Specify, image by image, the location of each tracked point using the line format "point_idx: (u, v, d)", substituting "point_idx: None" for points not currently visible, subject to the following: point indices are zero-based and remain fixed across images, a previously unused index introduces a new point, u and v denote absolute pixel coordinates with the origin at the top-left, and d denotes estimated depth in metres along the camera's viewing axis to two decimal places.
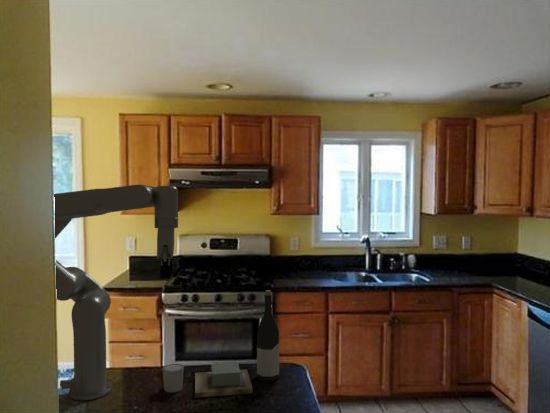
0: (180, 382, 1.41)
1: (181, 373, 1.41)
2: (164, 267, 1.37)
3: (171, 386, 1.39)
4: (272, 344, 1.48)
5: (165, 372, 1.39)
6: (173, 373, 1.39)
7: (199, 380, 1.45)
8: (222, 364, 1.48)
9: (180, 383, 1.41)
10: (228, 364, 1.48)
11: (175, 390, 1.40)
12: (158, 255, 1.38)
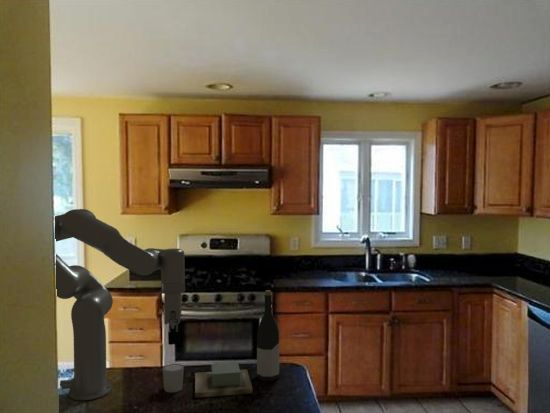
0: (180, 382, 1.41)
1: (181, 373, 1.41)
2: (172, 333, 1.36)
3: (171, 386, 1.39)
4: (272, 344, 1.48)
5: (165, 372, 1.39)
6: (173, 373, 1.39)
7: (199, 380, 1.45)
8: (222, 364, 1.48)
9: (180, 383, 1.41)
10: (228, 364, 1.48)
11: (175, 390, 1.40)
12: (166, 321, 1.37)
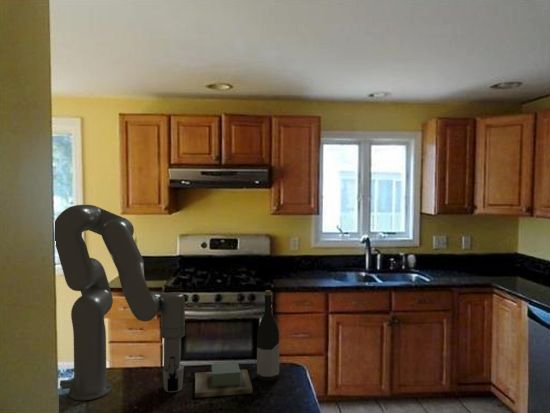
0: (180, 382, 1.41)
1: (181, 373, 1.41)
2: (171, 380, 1.38)
3: None
4: (272, 344, 1.48)
5: (165, 372, 1.39)
6: None
7: (199, 380, 1.45)
8: (222, 364, 1.48)
9: (180, 383, 1.41)
10: (228, 364, 1.48)
11: None
12: (165, 367, 1.37)
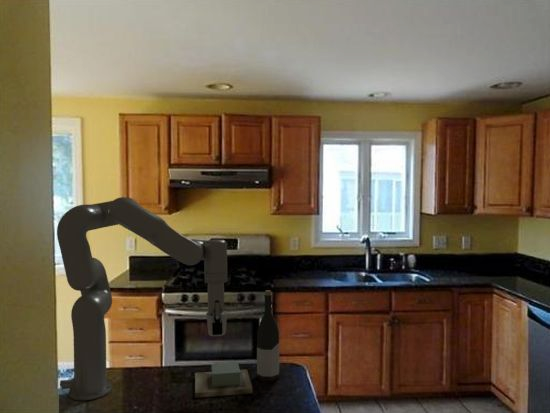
0: (224, 327, 1.43)
1: (225, 318, 1.43)
2: (216, 324, 1.40)
3: None
4: (272, 344, 1.48)
5: (209, 316, 1.42)
6: None
7: (199, 380, 1.45)
8: (222, 364, 1.48)
9: (224, 328, 1.43)
10: (228, 364, 1.48)
11: None
12: (210, 311, 1.39)
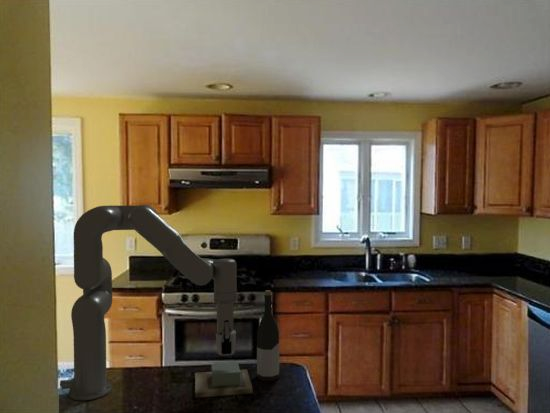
0: (233, 346, 1.44)
1: (234, 337, 1.44)
2: (225, 344, 1.41)
3: None
4: (272, 344, 1.48)
5: (219, 336, 1.42)
6: None
7: (199, 380, 1.45)
8: (222, 364, 1.48)
9: (233, 347, 1.44)
10: (228, 364, 1.48)
11: None
12: (219, 330, 1.40)
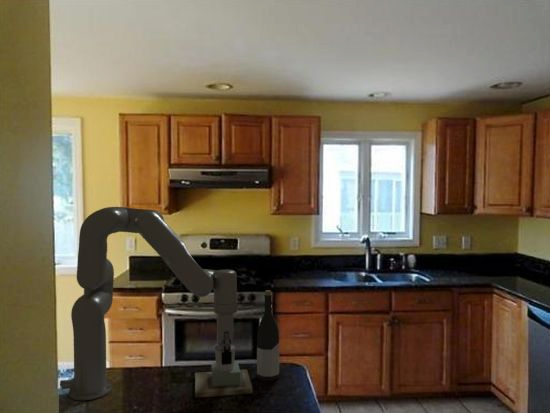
0: (232, 361, 1.43)
1: (233, 353, 1.44)
2: (225, 354, 1.39)
3: (224, 365, 1.42)
4: (272, 344, 1.48)
5: (218, 351, 1.42)
6: None
7: (199, 380, 1.45)
8: None
9: (232, 362, 1.44)
10: None
11: (227, 369, 1.42)
12: (219, 342, 1.40)
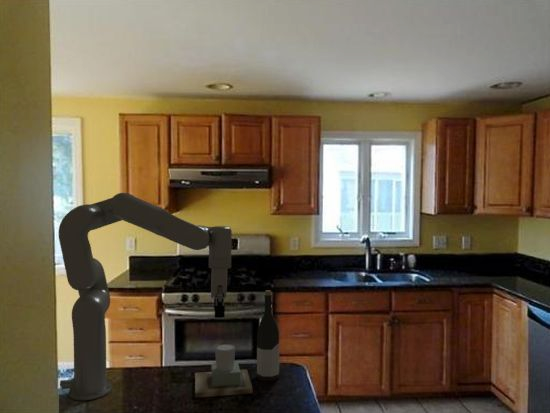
0: (232, 361, 1.43)
1: (233, 353, 1.44)
2: (219, 307, 1.41)
3: (224, 365, 1.42)
4: (272, 344, 1.48)
5: (218, 351, 1.42)
6: (225, 352, 1.42)
7: (199, 380, 1.45)
8: None
9: (232, 362, 1.44)
10: None
11: (227, 369, 1.42)
12: (213, 295, 1.42)
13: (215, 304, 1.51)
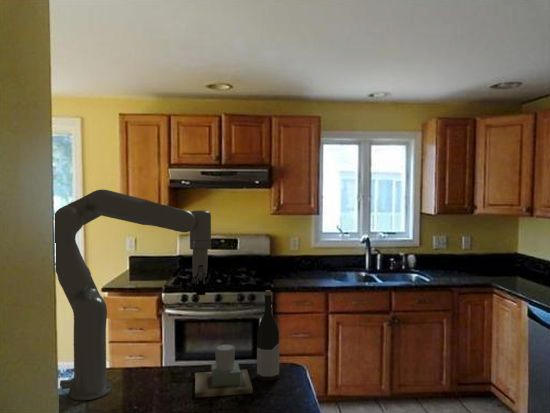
0: (232, 361, 1.43)
1: (233, 353, 1.44)
2: (200, 285, 1.51)
3: (224, 365, 1.42)
4: (272, 344, 1.48)
5: (218, 351, 1.42)
6: (225, 352, 1.42)
7: (199, 380, 1.45)
8: None
9: (232, 362, 1.44)
10: None
11: (227, 369, 1.42)
12: (194, 274, 1.52)
13: (197, 284, 1.61)
